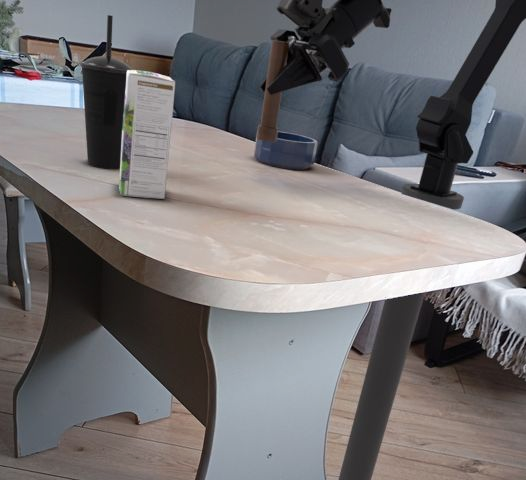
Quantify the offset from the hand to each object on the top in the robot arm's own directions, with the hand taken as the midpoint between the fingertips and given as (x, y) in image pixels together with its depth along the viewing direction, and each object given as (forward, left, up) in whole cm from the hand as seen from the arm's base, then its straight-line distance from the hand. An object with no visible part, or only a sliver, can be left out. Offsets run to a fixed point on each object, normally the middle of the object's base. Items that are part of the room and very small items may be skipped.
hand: (264, 90), depth 93 cm
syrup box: (+24, +2, -14) cm, 28 cm away
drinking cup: (+19, -13, -14) cm, 27 cm away
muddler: (-1, +1, -7) cm, 7 cm away
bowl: (-19, -9, -13) cm, 25 cm away
